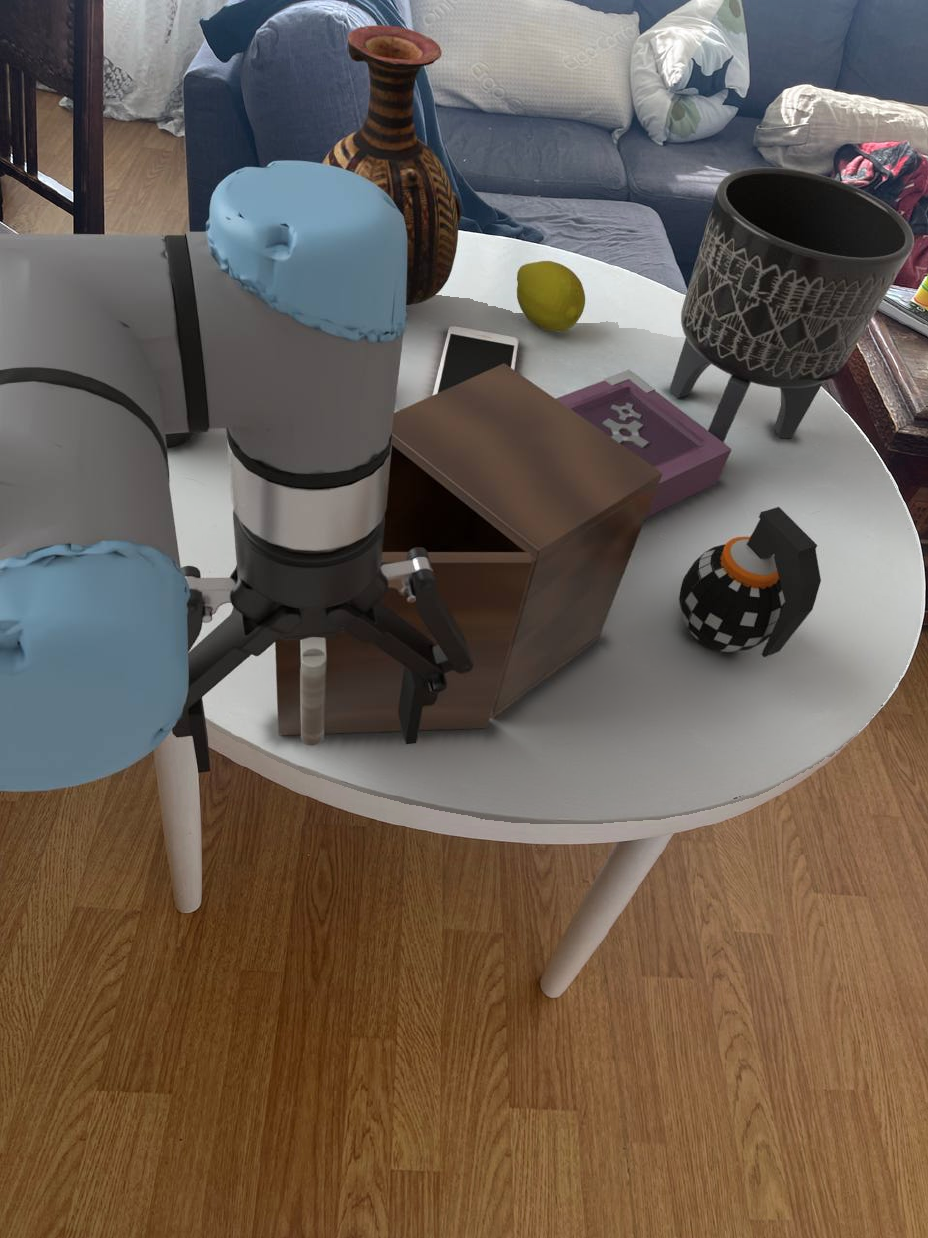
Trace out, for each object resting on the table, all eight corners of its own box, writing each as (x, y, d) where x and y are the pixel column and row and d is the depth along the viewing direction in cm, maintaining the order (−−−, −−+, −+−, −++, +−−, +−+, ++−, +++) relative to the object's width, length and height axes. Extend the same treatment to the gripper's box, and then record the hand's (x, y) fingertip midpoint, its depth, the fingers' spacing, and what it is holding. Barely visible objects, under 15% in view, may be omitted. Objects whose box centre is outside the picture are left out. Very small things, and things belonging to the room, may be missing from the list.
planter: (775, 386, 116) (872, 177, 96) (824, 488, 103) (948, 270, 83) (628, 374, 113) (697, 156, 93) (660, 477, 100) (748, 249, 80)
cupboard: (492, 719, 76) (539, 550, 61) (362, 598, 82) (375, 420, 68) (598, 640, 83) (663, 472, 68) (470, 535, 90) (504, 362, 75)
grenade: (796, 669, 84) (872, 556, 73) (718, 700, 80) (786, 586, 69) (721, 585, 90) (781, 468, 79) (646, 610, 86) (698, 492, 75)
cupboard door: (498, 789, 71) (549, 629, 56) (278, 800, 68) (271, 633, 53) (485, 718, 75) (530, 551, 61) (278, 725, 72) (272, 551, 58)
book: (618, 404, 108) (629, 369, 104) (716, 483, 101) (732, 448, 97) (450, 471, 96) (456, 433, 92) (549, 565, 89) (560, 528, 85)
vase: (439, 267, 124) (470, 16, 102) (475, 342, 113) (518, 79, 91) (282, 268, 118) (278, 3, 96) (304, 347, 107) (305, 68, 85)
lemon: (590, 341, 117) (606, 284, 111) (539, 351, 114) (553, 292, 108) (547, 298, 123) (560, 241, 117) (498, 306, 119) (508, 248, 113)
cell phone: (428, 415, 102) (429, 408, 101) (448, 331, 114) (449, 324, 113) (505, 429, 102) (507, 422, 101) (517, 344, 114) (519, 337, 113)
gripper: (526, 445, 50) (472, 675, 66) (41, 469, 44) (110, 718, 60) (568, 539, 46) (499, 762, 61) (33, 582, 39) (110, 819, 55)
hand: (307, 741), depth 61 cm, fingers open, 13 cm apart
